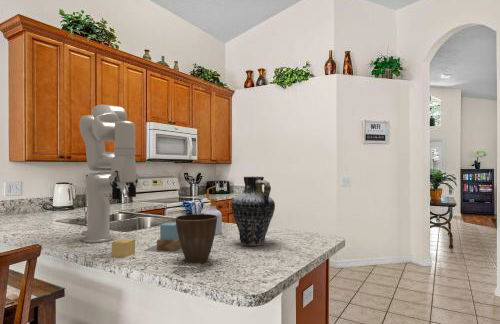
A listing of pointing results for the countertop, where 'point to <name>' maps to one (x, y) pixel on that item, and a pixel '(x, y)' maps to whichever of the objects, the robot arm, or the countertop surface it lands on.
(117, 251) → the ochre brick
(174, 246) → the walnut base brick
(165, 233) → the blue brick
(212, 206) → the soap bottle
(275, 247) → the countertop surface
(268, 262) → the countertop surface
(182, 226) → the plant pot
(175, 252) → the grey flat board
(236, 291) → the countertop surface
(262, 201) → the jug
